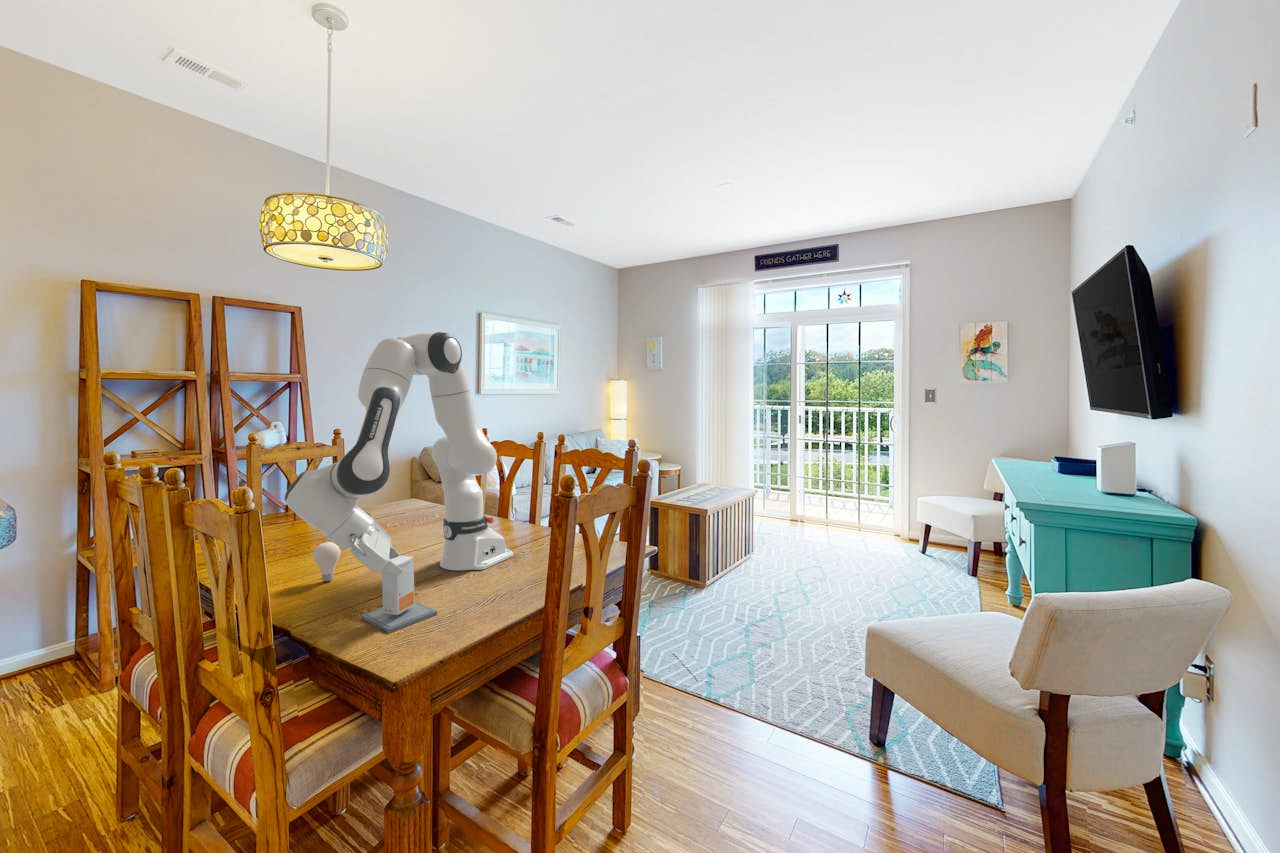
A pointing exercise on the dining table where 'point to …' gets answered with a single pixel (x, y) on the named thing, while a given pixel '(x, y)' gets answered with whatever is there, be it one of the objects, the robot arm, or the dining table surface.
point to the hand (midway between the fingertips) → (400, 567)
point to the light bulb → (327, 559)
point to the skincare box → (398, 587)
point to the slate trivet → (398, 617)
